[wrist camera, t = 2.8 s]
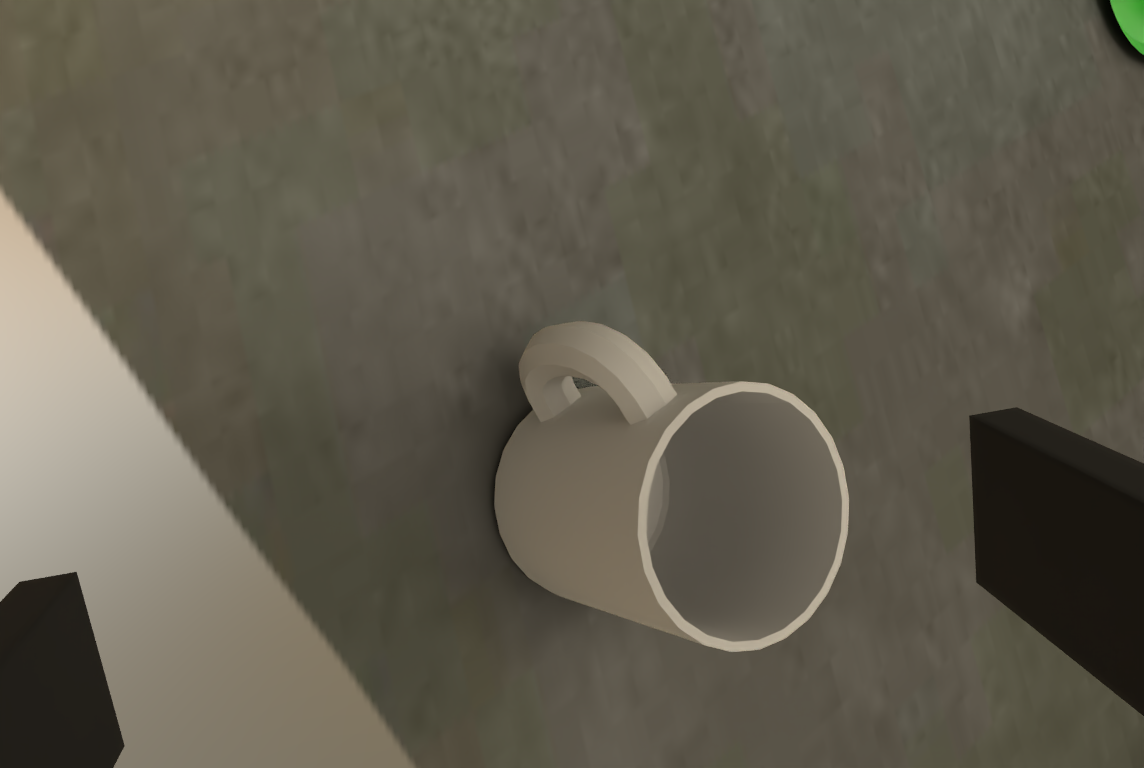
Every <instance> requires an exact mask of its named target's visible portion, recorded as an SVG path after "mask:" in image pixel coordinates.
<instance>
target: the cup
mask: <svg viewBox="0 0 1144 768" xmlns="http://www.w3.org/2000/svg"><path fill="white" fill-rule="evenodd" d="M519 374H520V382H521V384H522V387H523V389H524V391H525V394H526V396H527V399H528V401H529V403H530V404H531V406H532V408H533V410H532V411H531V412H530V413H529V414H528V415H527V416H526V417H525V418H524V419H523V420H522V421H521V422H520V424H519V425H518V426H517V427H516V429H515V431H514V432H513V434H512V436H511V438H510V439H509V441H508V443H507V445H506V446H505V448H504V450H503V453H502V457H501V460H500V464H499V467H498V471H497V474H496V480H495V501H494V507H495V512H496V517H497V522H498V528H499V533H500V535H501V537H502V540H503V542H504V544H505V546H506V548H507V550H508V552H509V554H510V556H511V558H512V560H513V561H514V562H515V563H516V564H517V565H518V567H519V568H520V569H521V570H522V571H523V572H524V573H525V575H526V576H527V577H528V578H529V579H531V580H532V581H534V582H536V583H537V584H539V585H540V586H542V587H543V588H545V589H547V590H548V591H550V592H552V593H554V594H556V595H558V596H560V597H563V598H566V599H569V600H572V601H575V602H578V603H581V604H584V605H587V606H590V607H593V608H596V609H599V610H602V611H605V612H608V613H611V614H614V615H617V616H620V617H623V618H626V619H629V620H631V621H634V622H637V623H640V624H643V625H646V626H649V627H652V628H655V629H658V630H661V631H664V632H667V633H670V634H673V635H676V636H679V637H682V638H685V639H688V640H691V641H694V642H697V643H700V644H703V645H706V646H710V647H714V648H718V649H722V650H726V651H730V652H736V651H748V650H759V649H762V648H764V647H766V646H769V645H771V644H773V643H776V642H778V641H780V640H783V639H785V638H786V637H788V636H789V635H790V634H791V633H792V632H794V631H795V630H796V629H797V628H799V627H800V626H801V625H802V624H804V623H805V622H806V621H807V620H808V619H809V618H810V617H811V615H812V614H813V613H814V611H815V610H816V609H817V607H818V606H819V605H820V603H821V602H822V601H823V599H824V598H825V596H826V595H827V594H828V591H829V589H830V587H831V585H832V582H833V580H834V578H835V576H836V574H837V571H838V569H839V567H840V565H841V560H842V556H843V552H844V547H845V543H846V538H847V534H848V513H849V496H848V490H847V484H846V478H845V472H844V467H843V464H842V461H841V459H840V456H839V454H838V451H837V449H836V446H835V443H834V441H833V438H832V436H831V435H830V434H829V432H828V431H827V429H826V428H825V426H824V425H823V423H822V422H821V421H820V419H819V418H818V416H817V415H816V413H815V412H814V411H812V410H811V409H810V408H809V407H808V406H807V405H805V404H804V403H803V402H802V401H801V400H800V399H798V398H797V397H796V396H795V395H794V394H791V393H789V392H787V391H784V390H782V389H780V388H777V387H775V386H773V385H770V384H767V383H754V382H742V381H738V382H709V383H679V384H671V383H670V382H669V380H668V378H667V377H666V375H665V374H664V373H663V371H662V370H661V369H660V368H659V366H658V365H657V364H656V363H655V362H654V360H653V359H652V358H651V357H650V355H649V354H648V353H647V352H646V351H644V350H643V349H642V348H641V347H639V346H638V345H637V344H636V343H634V342H633V341H632V340H631V339H629V338H628V337H627V336H626V335H624V334H622V333H620V332H618V331H616V330H613V329H611V328H609V327H607V326H605V325H602V324H598V323H591V322H585V321H577V322H570V323H563V324H558V325H553V326H548V327H545V328H543V329H542V330H540V331H538V332H537V333H535V334H534V335H533V336H532V338H531V340H530V342H529V343H528V345H527V347H526V349H525V351H524V353H523V355H522V357H521V359H520V362H519ZM572 377H576V378H581V379H585V380H587V381H589V382H591V383H593V384H596V385H597V386H592V387H586V388H580V389H577V388H576V386H575V384H574V382H573V379H572Z"/></svg>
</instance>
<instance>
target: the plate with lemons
mask: <svg viewBox="0 0 1144 768" xmlns="http://www.w3.org/2000/svg"><path fill="white" fill-rule="evenodd" d="M1110 2H1111V6H1112V8H1113V11H1114V14H1115V16H1116V19H1117V21H1118V23H1119V25H1120V27H1121V29H1122V31H1123V33H1124V34H1125V36H1126V37H1127V38H1128V40H1129V41H1130V43H1131V44H1132V45H1133V46H1134V47H1135V48H1136V49H1137V50H1138V51H1139V52H1140V53H1141V54H1143V55H1144V0H1110Z"/></svg>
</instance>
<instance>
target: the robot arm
mask: <svg viewBox="0 0 1144 768" xmlns="http://www.w3.org/2000/svg"><path fill="white" fill-rule="evenodd" d="M969 417H970V441H971V464H972V488H973V512H974V536H975V560H976V582H977V583H978V584H979V585H981V586H982V587H983V588H984V589H986V590H987V591H988V592H989V593H991V594H992V595H993V596H994V597H996V598H997V599H998V600H999V601H1001V602H1002V603H1003V604H1004V605H1006V606H1007V607H1008V608H1009V609H1011V610H1012V611H1013V612H1014V613H1016V614H1017V615H1018V616H1019V617H1021V618H1022V619H1023V620H1024V621H1026V622H1027V623H1028V624H1029V625H1031V626H1032V627H1033V628H1034V629H1036V630H1037V631H1038V632H1039V633H1041V634H1042V635H1043V636H1044V637H1046V638H1047V639H1048V640H1049V641H1051V642H1052V643H1053V644H1054V645H1056V646H1057V647H1058V648H1059V649H1061V650H1062V651H1063V652H1064V653H1066V654H1067V655H1068V656H1069V657H1071V658H1072V659H1073V660H1074V661H1076V662H1077V663H1078V664H1079V665H1081V666H1082V667H1083V668H1084V669H1086V670H1087V671H1088V672H1089V673H1091V674H1092V675H1093V676H1094V677H1096V678H1097V679H1098V680H1099V681H1101V682H1102V683H1103V684H1104V685H1106V686H1107V687H1108V688H1109V689H1111V690H1112V691H1113V692H1114V693H1116V694H1117V695H1118V696H1119V697H1121V698H1122V699H1123V700H1124V701H1126V702H1127V703H1128V704H1129V705H1131V706H1132V707H1133V708H1134V709H1136V710H1137V711H1138V712H1139V713H1141V714H1142V715H1143V716H1144V464H1143V463H1141V462H1139V461H1136V460H1134V459H1132V458H1130V457H1127V456H1125V455H1123V454H1121V453H1118V452H1116V451H1114V450H1112V449H1109V448H1107V447H1105V446H1103V445H1100V444H1098V443H1096V442H1094V441H1091V440H1089V439H1087V438H1085V437H1082V436H1080V435H1078V434H1076V433H1073V432H1071V431H1069V430H1067V429H1064V428H1062V427H1060V426H1058V425H1055V424H1053V423H1051V422H1049V421H1046V420H1044V419H1042V418H1040V417H1037V416H1035V415H1033V414H1031V413H1028V412H1026V411H1024V410H1022V409H1019V408H1011V409H1005V410H1000V411H994V412H988V413H982V414H977V415H971V416H969ZM123 748H124V743H123V739H122V735H121V731H120V728H119V724H118V720H117V717H116V713H115V710H114V706H113V702H112V699H111V695H110V691H109V688H108V685H107V681H106V677H105V673H104V670H103V666H102V662H101V659H100V655H99V652H98V648H97V645H96V641H95V637H94V634H93V630H92V627H91V623H90V619H89V616H88V612H87V608H86V605H85V601H84V597H83V594H82V590H81V586H80V583H79V579H78V576H77V572H74V573H68V574H62V575H56V576H51V577H45V578H39V579H34V580H28V581H22V582H19V583H18V584H17V585H16V586H15V587H14V588H13V589H12V590H11V591H10V592H9V593H8V594H7V596H6V597H5V598H4V599H3V600H2V601H1V602H0V768H113V767H114V765H115V763H116V761H117V759H118V757H119V755H120V753H121V751H122V750H123Z"/></svg>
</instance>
